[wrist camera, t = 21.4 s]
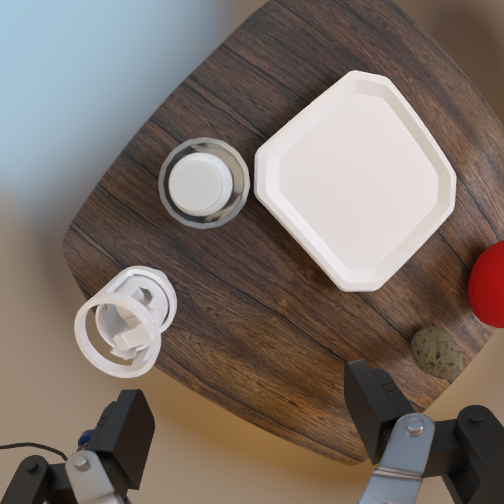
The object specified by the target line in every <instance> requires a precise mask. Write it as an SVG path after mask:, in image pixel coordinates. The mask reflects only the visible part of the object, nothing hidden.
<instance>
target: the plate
mask: <svg viewBox="0 0 504 504" xmlns="http://www.w3.org/2000/svg"><path fill="white" fill-rule="evenodd" d="M455 192H456V174H455V172H454V170H453V168H452V167H451V165H450V163H449V162H448V160H447V158H446V157H445V155H444V154H443V152H442V150H441V149H440V147H439V146H438V144H437V143H436V141H435V140H434V138H433V137H432V135H431V134H430V132H429V131H428V129H427V128H426V127H425V125H424V124H423V122H422V121H421V119H420V118H419V117H418V115H417V114H416V113H415V111H414V110H413V109H412V107H411V106H410V105H409V103H408V102H407V101H406V99H405V98H404V97H403V96H402V94H401V93H400V92H399V91H398V89H397V88H396V87H395V86H394V84H393V83H392V82H391V81H390V80H389V79H388V78H386V77H384V76H380V75H375V74H371V73H366V72H361V71H350V72H349V73H347V74H346V75H345V76H344V77H342V78H341V79H340V80H339V81H337V82H336V83H335V84H334V85H332V86H331V87H330V88H329V89H327V90H326V91H325V92H324V93H322V94H321V95H320V96H319V97H318V98H316V99H315V100H314V101H313V102H312V103H310V104H309V105H308V106H307V107H306V108H304V109H303V110H302V111H301V112H300V113H299V114H297V115H296V116H295V117H294V118H293V119H291V120H290V121H289V122H288V123H287V124H286V125H285V126H283V127H282V128H281V129H280V130H279V131H278V132H277V133H275V134H274V135H273V136H272V137H271V138H270V139H269V140H267V141H266V142H265V143H264V144H263V145H262V146H261V147H260V148H259V149H258V150H257V152H256V154H255V164H254V194H255V196H256V198H257V199H258V200H259V201H260V202H261V203H262V204H263V205H264V207H265V208H266V209H267V210H268V211H269V212H270V213H271V214H272V215H273V216H274V217H275V218H276V219H277V220H278V222H279V223H280V224H281V225H282V226H283V227H284V228H285V229H286V230H287V231H288V232H289V233H290V235H291V236H292V237H293V238H294V239H295V240H296V241H297V242H298V243H299V244H300V246H301V247H302V248H303V249H304V250H305V251H306V252H307V253H308V254H309V255H310V257H311V258H312V259H313V260H314V261H315V262H316V263H317V264H318V266H319V267H320V268H321V269H322V270H323V271H324V272H325V273H326V274H327V276H328V277H329V278H330V279H331V280H332V281H333V282H334V284H335V285H336V286H337V287H338V288H339V289H340V290H342V291H344V292H355V291H375V290H377V289H379V288H380V287H381V286H382V285H383V284H384V283H385V282H386V281H387V280H388V279H389V278H390V277H391V276H392V275H393V274H394V273H395V272H397V271H398V270H399V269H400V268H401V267H402V266H403V264H404V263H405V262H406V261H407V260H408V259H409V258H410V257H411V256H412V255H413V254H414V253H415V252H416V251H417V250H418V249H419V248H420V247H421V246H422V245H423V244H424V243H425V242H426V241H427V240H428V238H429V237H430V236H431V235H432V234H433V233H434V232H435V231H436V230H437V229H438V228H439V226H440V225H441V224H442V223H443V222H444V221H445V220H446V219H447V217H448V216H449V215H450V214H451V213H452V212H453V209H454V205H455Z"/></svg>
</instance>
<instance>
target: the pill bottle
mask: <svg viewBox="0 0 504 504" xmlns="http://www.w3.org/2000/svg"><path fill="white" fill-rule="evenodd" d="M232 190H233V177H232V174H231V172H230V170H229V168H228V167H227V165H226V164H225V163H224V162H223V161H222V160H221V159H220V158H218V157H217V156H214V155H212V154H208V153H193V154H190V155H187V156H185V157H184V158H182V159H181V160H180V161H179V162H178V163H177V164H176V165H175V166H174V168H173V169H172V171H171V174H170V177H169V192H170V196H171V198H172V200H173V202H174V203H175V205H176V206H177V207H178V208H179V209H180V210H182V211H183V212H185V213H187V214H190V215H193V216H207V215H210V214H213V213H215V212H217V211H218V210H220V209H221V208H222V207H223V206H224V205H225V204H226V202H227V201H228V199H229V198H230V195H231V193H232Z"/></svg>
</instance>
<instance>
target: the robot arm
mask: <svg viewBox="0 0 504 504" xmlns="http://www.w3.org/2000/svg"><path fill="white" fill-rule="evenodd" d="M344 398H345V403H346V406H347V408H348V411H349V413H350V415H351V417H352V419H353V422H354V424H355V426H356V428H357V431H358V433H359V435H360V437H361V439H362V442H363V444H364V446H365V448H366V451H367V453H368V455H369V457H370V460H371V462H372V464H373V465H375V464H378V463H379V466H378V467H377V469H375V470H374V471H373V473H372V475H371V477H370V479H369V482H368V484H367V486H366V488H365V490H364V492H363V494H362V496H361V498H360V500H359V501H358V503H357V504H415V502H416V499H417V496H418V493H419V490H420V487H421V484H422V481H423V478H427V477H434V476H441V477H442V479H443V481H444V483H445V485H446V487H447V489H448V491H449V493H450V495H451V497H452V499H453V501H454V503H455V504H504V427H503V426H502V425H501V423H500V422H499V421H498V420H497V418H496V417H495V416H494V415H493V413H492V412H491V411H490V410H489V409H488V408H486V407H484V406H480V405H471V406H467V407H465V408H464V409H462V410H461V411H460V412H459V414H458V417H457V419H452V420H445V421H437V422H436V421H433V420H432V419H431V418H430V417H428V416H426V415H424V414H420V413H416V412H415V410H414V409H413V407H412V406H411V405H410V403H409V402H408V400H407V399H406V397H405V396H404V395H403V393H402V392H401V390H399V388H398V386H397V385H396V383H394V381H393V379H392V378H391V376H390V375H389V374H388V373H387V372H385V371H384V370H382V369H380V368H375V369H371V368H370V367H369V365H368V364H367V362H366V361H365V359H360V360H356V361H351V362H347V363H345V365H344ZM154 431H155V422H154V417H153V415H152V412H151V410H150V408H149V406H148V403H147V401H146V399H145V396H144V394H143V392H142V391H141V390H140V389H131V390H122V391H121V393H120V395H119V397H118V399H117V401H113V402H112V403H111V404H109V405H108V406H107V407H106V408H105V409H104V411H103V413H102V415H101V417H100V420H99V421H98V423H97V426H96V428H95V429H94V431H93V433H92V436H91V438H90V440H88V441H86V442H85V443H80V445H79V447H78V450H77V452H75V453H73V454H72V455H71V456H70V457H69V458H67V457H66V456H65V455H64V453H62V452H60V451H58V450H56V449H53V448H50V447H47V446H44V445H40V444H36V443H17V444H11V445H4V446H0V449H9V448H15V447H24V446H32V447H37V448H42V449H46V450H48V451H51V452H54V453H56V454H58V455H60V456H62V458H63V459H64V460H65V461H66V463H61V464H50V465H49V464H48V462H47V461H46V460H45V459H44V458H43V457H42V456H39V455H32V456H29V457H27V458H25V459H24V460H23V461H22V462H21V463H20V465H19V467H18V469H17V471H16V472H15V475H14V477H13V478H12V480H11V482H10V484H9V486H8V488H7V490H6V492H5V494H4V496H3V499H2V501H1V503H0V504H43V503H44V502H45V503H46V504H132V503H131V501H130V500H129V498H128V497H127V495H126V494H127V490H128V489H134V490H139V486H140V483H141V478H142V475H143V471H144V467H145V463H146V460H147V456H148V452H149V449H150V445H151V441H152V438H153V434H154Z"/></svg>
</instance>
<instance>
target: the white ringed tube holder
mask: <svg viewBox="0 0 504 504" xmlns="http://www.w3.org/2000/svg"><path fill="white" fill-rule="evenodd" d="M169 303H170V313H169V316H168V318H167V319H166V320H165V321H164V319H165V317H166V314H167V312H168V310H169ZM98 304H100V305H99V306H98V307H97V310H96V316H95V318H96V325H97V328H98V331H99V332H100V334H101V336H102V337H103V339H104V340H105V341H106V342H107V343H108V344H109V345H111V346H112V347H113V349H112V350H111V352H110V353H112V354H114V355H116V356H119V357H122V358H123V359H124V360H128V359H129V358H134V357H135V355H136V353H137V352H138V353H137V355H136V357H135V359H134V361H133V363H132V365H131V366H123V365H118V364H115V363H113V362H110V361H108V360H107V359H105V358H104V357H102V356H101V355H100V354H99V353H98V352H97V351H96V350H95V349H94V347H93V346H92V345H91V343H90V341H89V339H88V337H87V334H86V329H85V319H86V315H87V312H88V310H89V309H90V308H91V307H93V306H95V305H98ZM106 305H107V310H106ZM176 309H177V298H176V294H175V291H174V289H173V287H172V285H171V283H170V282H169V281H168V278H167V276H166V275H165V274H164V273H163V272H161V271H159V270H154V269H152V268H149V267H145V266H133V267H129V268H126V269H124V270H123V271H121V272H120V273H119V274H118V275H117V276H115V277H114V278H113V279H112V280H111V281H110V282H109V283H108V284H107V285H106V286H105V287H103V288H102V289H101V290H100V291H99V292H98V293H97V294H96V295H94V296H93V297H92V298H91V299H90V300H88V301H87V302H86V303H85V304H84V305H83V306H82V307H81V309H80V310H79V311H78V313H77V315H76V319H75V324H74V325H75V327H74V329H75V336H76V340H77V343H78V345H79V347H80V349H81V351H82V353H83V354H84V355H85V357H86V358H87V359H88V360H89V361H90V362H91V363H92V364H93V365H94V366H96V367H97V368H98V369H100V370H101V371H103V372H105V373H107V374H110V375H112V376H116V377H121V378H132V377H136V376H140V375H142V374H144V373H146V372H147V371H148V370H149V369H150V368H151V367H152V366H153V364H154V363H155V361H156V358H157V356H158V353H159V351H160V347H161V335H160V333H162V332H163V331H165V330H166V329H167V328H168V327H169V325H170V324H171V322H172V320H173V318H174V316H175V313H176ZM163 321H164V322H163ZM138 350H139V351H138ZM150 354H151V355H150ZM149 356H150V357H149Z"/></svg>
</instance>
